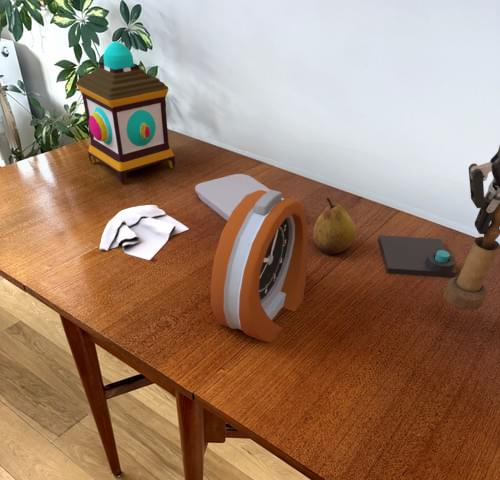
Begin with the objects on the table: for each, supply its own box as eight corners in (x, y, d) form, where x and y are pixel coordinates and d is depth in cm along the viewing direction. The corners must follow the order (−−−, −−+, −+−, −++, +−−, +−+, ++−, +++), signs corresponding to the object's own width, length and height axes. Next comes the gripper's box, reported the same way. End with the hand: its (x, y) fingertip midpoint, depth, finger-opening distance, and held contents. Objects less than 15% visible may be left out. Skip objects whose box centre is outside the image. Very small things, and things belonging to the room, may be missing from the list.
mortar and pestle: (467, 315, 77) (512, 218, 65) (435, 295, 81) (472, 199, 68) (490, 301, 80) (537, 205, 68) (458, 282, 84) (498, 188, 71)
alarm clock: (259, 357, 77) (268, 238, 62) (209, 335, 80) (206, 218, 65) (312, 288, 91) (330, 178, 76) (268, 272, 95) (276, 164, 79)
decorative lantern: (120, 188, 119) (98, 56, 99) (82, 162, 130) (56, 38, 109) (183, 168, 130) (175, 44, 109) (143, 146, 140) (130, 29, 119)
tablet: (243, 180, 126) (243, 171, 124) (304, 221, 110) (305, 213, 109) (190, 194, 118) (190, 185, 117) (248, 240, 103) (248, 231, 102)
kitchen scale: (439, 244, 105) (443, 232, 103) (454, 278, 96) (459, 266, 94) (377, 240, 106) (380, 228, 104) (387, 274, 96) (390, 262, 94)
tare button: (445, 256, 97) (448, 250, 96) (449, 263, 95) (451, 257, 94) (433, 255, 97) (435, 249, 96) (436, 262, 95) (438, 256, 94)
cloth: (156, 201, 115) (155, 192, 113) (204, 241, 102) (203, 232, 101) (76, 224, 106) (74, 215, 104) (117, 271, 93) (115, 261, 91)
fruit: (357, 245, 104) (368, 195, 95) (339, 264, 98) (350, 212, 90) (322, 233, 107) (331, 183, 99) (304, 250, 101) (311, 199, 93)
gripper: (499, 121, 57) (452, 242, 69) (615, 128, 57) (548, 248, 68) (480, 102, 62) (440, 217, 74) (586, 108, 62) (529, 222, 74)
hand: (492, 231), depth 71 cm, fingers closed on mortar and pestle, 3 cm apart
